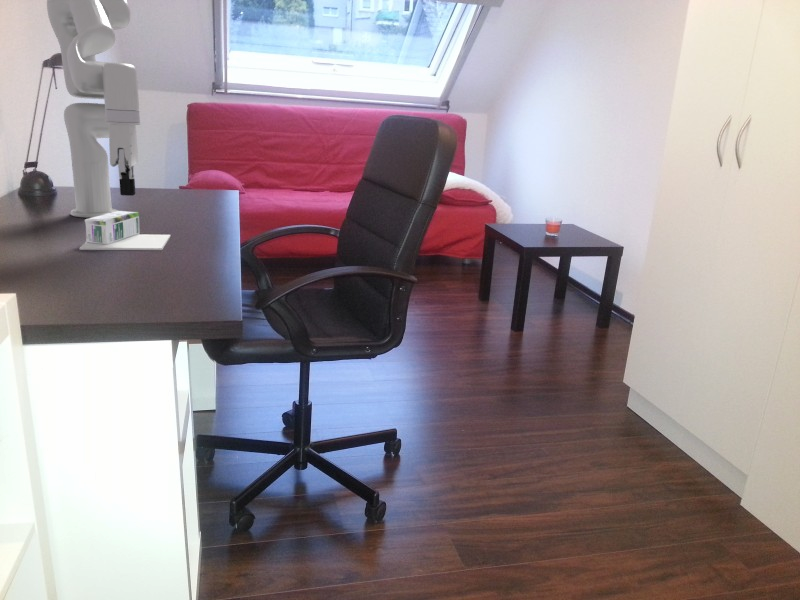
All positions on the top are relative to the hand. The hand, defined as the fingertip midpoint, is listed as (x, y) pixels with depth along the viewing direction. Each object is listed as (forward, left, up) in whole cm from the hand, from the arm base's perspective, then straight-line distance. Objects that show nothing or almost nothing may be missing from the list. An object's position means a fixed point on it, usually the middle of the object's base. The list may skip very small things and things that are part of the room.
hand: (128, 194), depth 159 cm
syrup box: (-5, -1, -8) cm, 10 cm away
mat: (+4, 0, -11) cm, 12 cm away
